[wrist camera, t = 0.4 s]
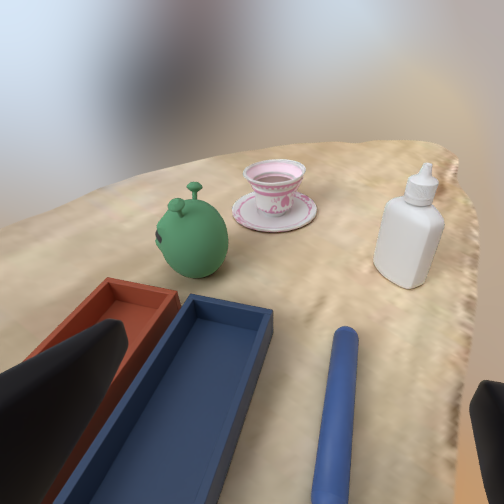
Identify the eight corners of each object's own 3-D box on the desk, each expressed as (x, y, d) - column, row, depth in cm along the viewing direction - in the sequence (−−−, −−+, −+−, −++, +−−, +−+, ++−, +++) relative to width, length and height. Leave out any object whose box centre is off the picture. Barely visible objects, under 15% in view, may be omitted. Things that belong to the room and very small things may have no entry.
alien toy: (179, 248, 40) (162, 171, 34) (239, 256, 38) (232, 176, 32) (151, 286, 35) (125, 203, 29) (219, 297, 33) (206, 210, 27)
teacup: (261, 244, 40) (259, 199, 36) (217, 206, 48) (212, 166, 45) (335, 215, 45) (340, 173, 41) (283, 185, 53) (283, 147, 49)
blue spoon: (324, 332, 29) (326, 317, 27) (367, 341, 28) (371, 325, 26) (279, 595, 16) (279, 588, 15) (355, 629, 15) (362, 623, 14)
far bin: (2, 593, 16) (-30, 581, 15) (-99, 535, 18) (-137, 519, 17) (183, 312, 31) (177, 290, 30) (115, 298, 33) (107, 276, 32)
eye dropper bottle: (410, 257, 37) (442, 152, 29) (427, 291, 32) (470, 177, 25) (370, 256, 37) (392, 152, 30) (381, 290, 33) (410, 178, 25)
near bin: (159, 681, 14) (142, 680, 12) (22, 604, 16) (-9, 594, 14) (273, 332, 29) (273, 309, 27) (195, 315, 31) (190, 293, 29)
